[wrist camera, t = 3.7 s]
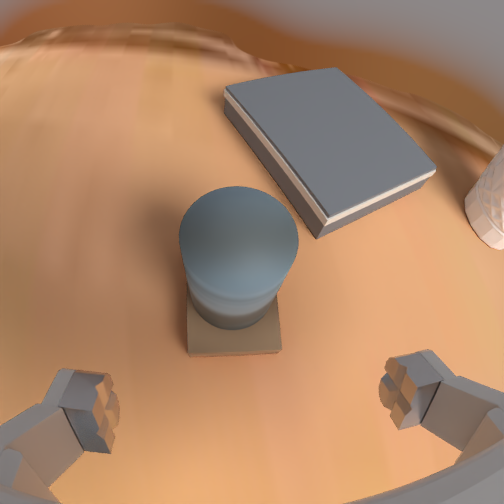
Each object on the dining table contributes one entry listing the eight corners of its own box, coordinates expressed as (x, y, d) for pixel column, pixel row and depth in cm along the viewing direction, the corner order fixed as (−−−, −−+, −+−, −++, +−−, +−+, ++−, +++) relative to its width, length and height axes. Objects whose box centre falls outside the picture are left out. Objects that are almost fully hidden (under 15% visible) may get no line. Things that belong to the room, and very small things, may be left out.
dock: (222, 112, 26) (224, 85, 24) (328, 89, 30) (336, 66, 27) (316, 241, 22) (329, 217, 19) (421, 188, 25) (438, 167, 23)
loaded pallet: (277, 353, 18) (315, 320, 11) (190, 357, 18) (171, 326, 11) (266, 245, 21) (290, 166, 14) (189, 246, 21) (178, 165, 14)
